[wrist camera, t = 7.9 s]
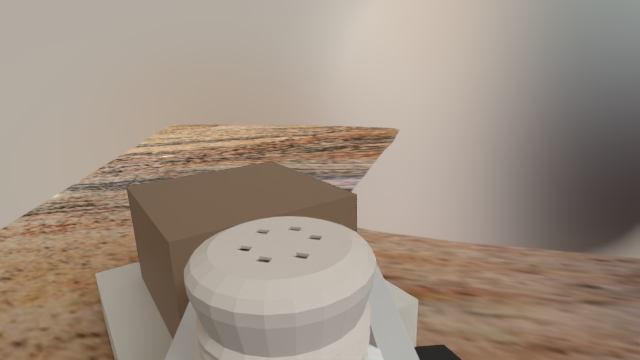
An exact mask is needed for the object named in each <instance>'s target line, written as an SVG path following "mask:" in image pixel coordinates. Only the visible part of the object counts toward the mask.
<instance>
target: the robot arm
mask: <svg viewBox="0 0 640 360" xmlns="http://www.w3.org/2000/svg"><path fill="white" fill-rule="evenodd" d="M368 301H369V304H370V307H371V314H370V319H371V322H370V339H369V344H371V345H372V346H374V347H376V348H378V349H380V351H381V354H382V357H383V360H461V359H460V358H459V357H458V356H456V355H455V354H454V353H453V352H452V351H451V350H449V349H448V348H447V347H446V346H445V345H433V346H419V347H414V346H413V344H412V341H411V339H410V337H409V335H408V332H407V330H406V328H405V326H404V323H403V321H402V319H401V317H400V314H399V312H398V310H397V307H396V305H395V303H394V301H393V298H392V296H391V294H390V292H389V289H388V287H387V285H386V282H385V280H384V278H383V276H382V273H381V271H380V269H379V267H378V264H377V262H376V264H375V275H374V283H373V286H372V289H371V292H370V295H369V298H368ZM196 317H197V314H196V312H195V310H194V308H193V306H192V304H191V302H190V301H189V303H188V306H187V308H186V310H185V313H184V315H183V318H182V320H181V322H180V325H179V327H178V329H177V332H176V334H175V337H174V339H173V341H172V344H171V346H170V348H169V351H168V353H167V355H166V358H165V360H201V359H200V354H199V347H198V339H197V335H196V324H195V320H196Z"/></svg>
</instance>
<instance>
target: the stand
mask: <svg viewBox="0 0 640 360" xmlns="http://www.w3.org/2000/svg"><path fill="white" fill-rule="evenodd" d="M127 193H128V199H129V204H130V210H131V216H132V222H133V228H134V234H135V239H136V245H137V251H138V257H139V262H135V263H132V264H128V265H124V266H121V267H117V268H113V269H110V270H106V271H102V272H98V273H95V277H96V281H97V286H98V291H99V296H100V301H101V305H102V310H103V315H104V320H105V324H106V328H107V332H108V336H109V339H110V343H111V347H112V351H113V355H114V359H115V360H165V358H166V355H167V353H168V351H169V348H170V346H171V344H172V341H173V339H174V337H175V334H176V332H177V329H178V327H179V325H180V322H181V320H182V318H183V315H184V313H185V310H186V308H187V306H188V303H189V301H190V300H189V298H188V296H187V293H186V288H185V284H184V268H185V266H186V264H187V262H188V260H189V259H190V257H191V255H192V254H193V252H194V251H195V250H196V249H197V248H198V247H199V246H200V245H201V244H202V243H203V242H204V241H205V240H207V239H209V238H210V237H212V236H214V235H215V234H217V233H219V232H221V231H224V230H226V229H229V228H231V227H234V226H237V225H239V224H242V223H246V222H250V221H254V220H257V219H264V218H270V217H283V216H297V217H309V218H316V219H321V220H326V221H330V222H333V223H337V224H340V225H343V226H345V227H347V228H349V229H351V230H353V231H355V232H357V195H356V194H354V193H352V192H349V191H347V190H344V189H341V188H339V187H336V186H334V185H331V184H329V183H326V182H323V181H321V180H318V179H316V178H313V177H310V176H308V175H305V174H303V173H300V172H298V171H295V170H292V169H290V168H287V167H285V166H282V165H280V164H277V163H274V162H272V161H271V162H266V163H260V164H254V165H248V166H243V167H237V168H231V169H225V170H219V171H214V172H208V173H202V174H196V175H190V176H185V177H179V178H173V179H167V180H162V181H156V182H150V183H144V184H138V185H133V186H127ZM384 280H385V279H384ZM385 282H386V285H387V287H388V289H389V292H390V294H391V296H392V298H393V301H394V303H395V305H396V307H397V310H398V312H399V314H400V317H401V319H402V321H403V323H404V326H405V328H406V330H407V332H408V335H409V337H410V339H411V341H412V344H413V346H414V347H416V337H417V316H418V299H416V298H415V297H413V296H411V295H410V294H408V293H406V292H405V291H403V290H401V289H400V288H398V287H396V286H395V285H393V284H391V283H390V282H388V281H386V280H385Z"/></svg>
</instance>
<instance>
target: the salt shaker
mask: <svg viewBox="0 0 640 360" xmlns="http://www.w3.org/2000/svg"><path fill="white" fill-rule="evenodd" d="M375 264H376V257H375V255H374V253H373V251H372V248H371V247H370V246H369V244H368V243H367V242H366V241H365V240H364V239H363V238H362V237H361V236H360V235H359V234H358V233H357V232H355V231H353V230H351V229H349V228H347V227H345V226H343V225H340V224H337V223H333V222H330V221H326V220H321V219H316V218H309V217H297V216H283V217H270V218H264V219H257V220H254V221H250V222H246V223H242V224H239V225H237V226H234V227H231V228H229V229H226V230H224V231H221V232H219V233H217V234H215V235H214V236H212V237H210V238H209V239H207V240H205V241H204V242H203V243H202V244H201V245H200V246H199V247H198V248H197V249H196V250H195V251H194V252H193V254H192V255H191V257H190V259H189V260H188V262H187V264H186V266H185V268H184V284H185V288H186V293H187V296H188V298H189V300H190V302H191V304H192V306H193V308H194V310H195V312H196V314H197V317H196V320H195V324H196V335H197V339H198V347H199V354H200V359H201V360H383V357H382V354H381V351H380V349H378V348H376V347H374V346H372V345H371V344H369V339H370V322H371V319H370V314H371V307H370V304H369V301H368V298H369V295H370V292H371V289H372V286H373V283H374V275H375Z"/></svg>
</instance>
